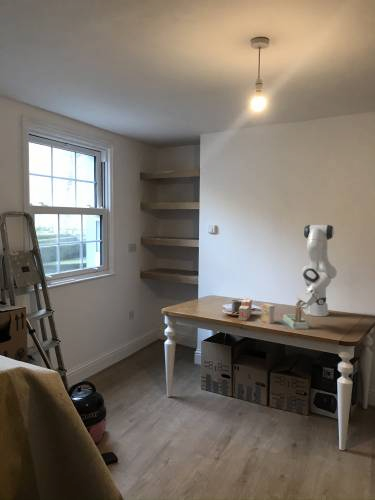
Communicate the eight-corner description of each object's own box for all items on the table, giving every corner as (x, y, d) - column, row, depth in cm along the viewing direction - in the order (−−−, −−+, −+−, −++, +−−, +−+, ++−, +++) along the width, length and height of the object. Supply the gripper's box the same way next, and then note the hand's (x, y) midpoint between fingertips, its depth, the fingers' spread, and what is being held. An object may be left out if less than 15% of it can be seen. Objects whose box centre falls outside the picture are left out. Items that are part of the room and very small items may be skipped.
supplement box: (261, 321, 278) (261, 303, 277) (266, 320, 281) (266, 303, 280) (269, 324, 271) (269, 306, 270) (274, 323, 274) (274, 305, 273)
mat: (276, 320, 281) (276, 320, 281) (303, 320, 282) (303, 319, 282) (286, 329, 259) (286, 328, 259) (315, 328, 261) (315, 328, 261)
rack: (282, 319, 282) (282, 314, 282) (296, 319, 283) (296, 314, 283) (293, 328, 259) (293, 323, 258) (308, 328, 259) (308, 322, 259)
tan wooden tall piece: (292, 321, 268) (293, 301, 267) (299, 321, 269) (300, 301, 268) (296, 324, 261) (296, 304, 260) (303, 324, 262) (304, 303, 261)
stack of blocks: (246, 321, 279) (247, 304, 278) (238, 320, 281) (238, 304, 280) (251, 314, 300) (251, 298, 299) (243, 313, 302) (243, 298, 301)
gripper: (303, 286, 274) (289, 299, 274) (314, 291, 254) (299, 306, 254) (309, 292, 275) (295, 306, 275) (321, 298, 254) (306, 313, 254)
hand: (297, 306), depth 264 cm, fingers closed on tan wooden tall piece, 3 cm apart
